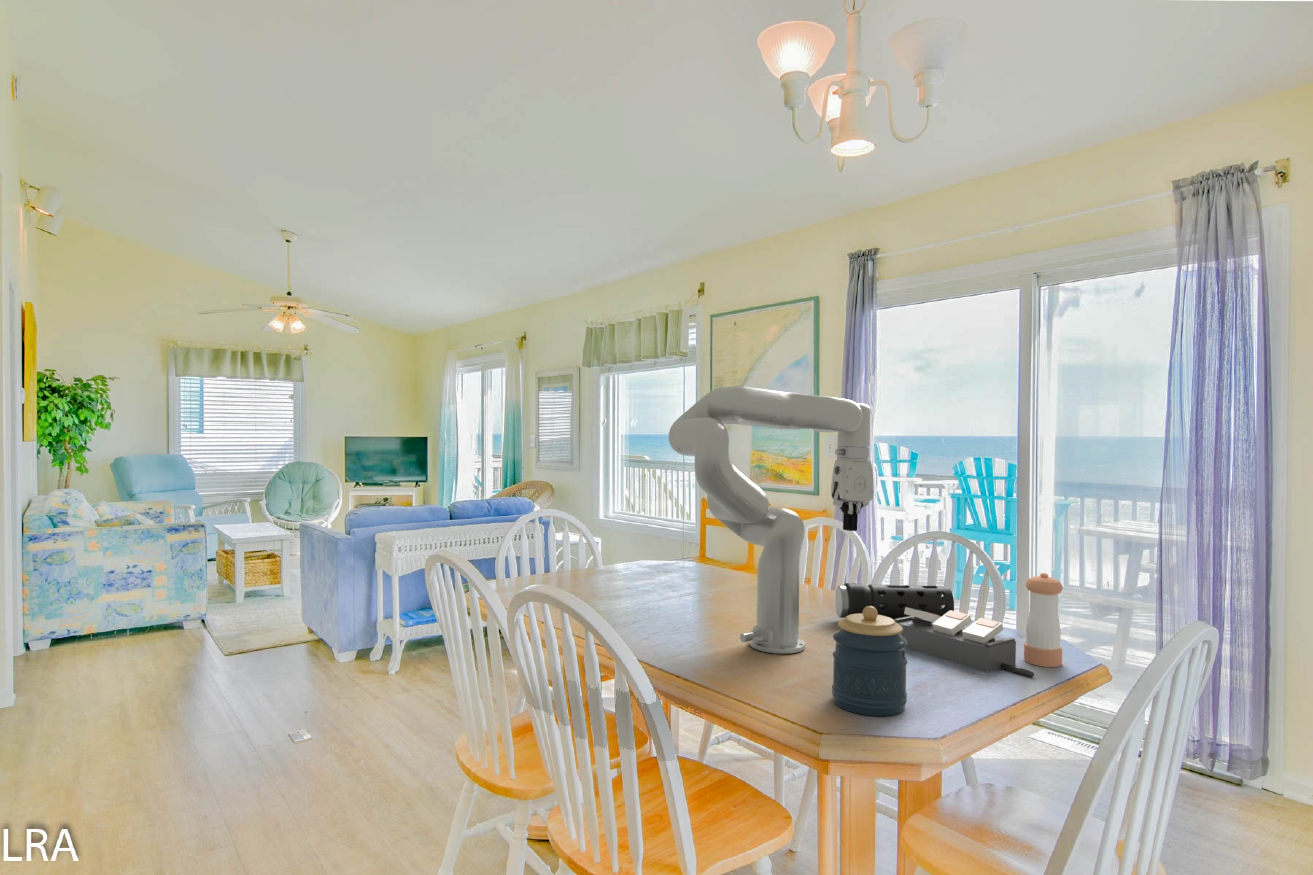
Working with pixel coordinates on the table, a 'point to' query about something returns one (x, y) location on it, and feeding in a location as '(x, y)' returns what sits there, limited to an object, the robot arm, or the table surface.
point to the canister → (869, 664)
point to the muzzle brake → (892, 599)
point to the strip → (961, 647)
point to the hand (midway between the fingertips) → (849, 530)
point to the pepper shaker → (1043, 622)
